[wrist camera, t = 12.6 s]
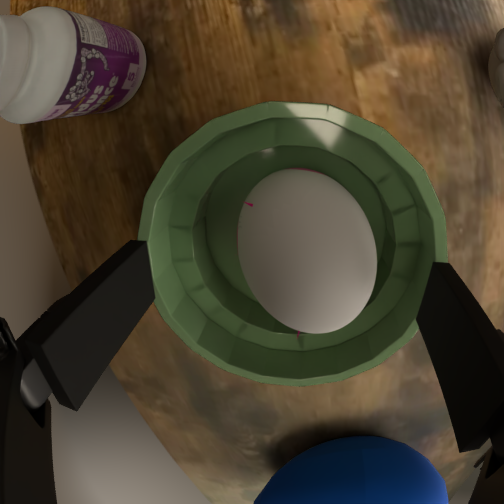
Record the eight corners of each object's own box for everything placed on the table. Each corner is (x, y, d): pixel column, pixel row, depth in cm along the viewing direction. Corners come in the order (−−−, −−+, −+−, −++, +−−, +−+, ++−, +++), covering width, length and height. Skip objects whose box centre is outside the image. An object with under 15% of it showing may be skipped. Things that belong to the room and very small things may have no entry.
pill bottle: (107, 131, 16) (-27, 167, 8) (65, 77, 15) (-61, 88, 6) (168, 64, 14) (36, 38, 5) (118, 12, 13) (-8, -22, 4)
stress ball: (259, 166, 18) (166, 209, 15) (380, 137, 12) (295, 180, 9) (298, 277, 21) (226, 338, 17) (412, 284, 15) (352, 377, 11)
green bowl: (189, 316, 21) (161, 367, 16) (173, 108, 15) (124, 110, 11) (387, 333, 19) (401, 390, 14) (426, 121, 13) (471, 127, 9)
